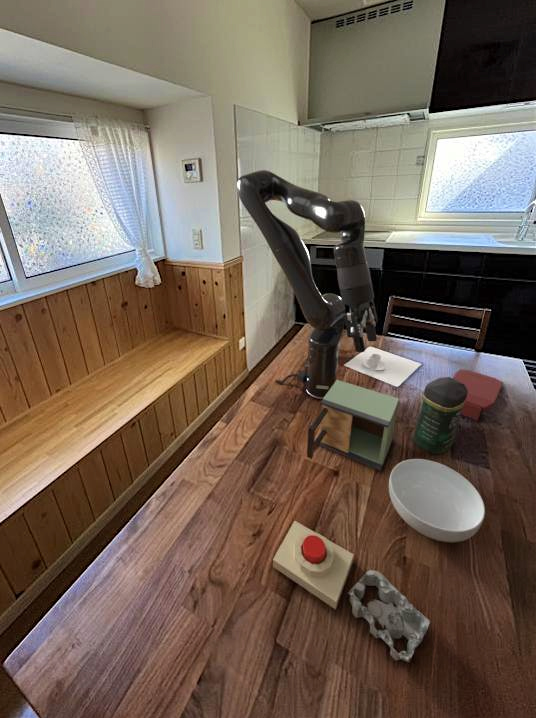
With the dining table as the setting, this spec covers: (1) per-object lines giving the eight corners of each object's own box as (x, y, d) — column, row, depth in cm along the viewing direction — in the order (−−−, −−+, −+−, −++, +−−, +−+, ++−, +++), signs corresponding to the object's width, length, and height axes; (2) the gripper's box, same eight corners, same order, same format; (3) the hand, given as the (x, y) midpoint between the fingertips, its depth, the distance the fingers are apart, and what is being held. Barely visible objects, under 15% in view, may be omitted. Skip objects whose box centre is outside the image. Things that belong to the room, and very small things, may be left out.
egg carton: (342, 604, 57) (344, 589, 55) (370, 575, 60) (372, 561, 59) (402, 674, 49) (406, 659, 47) (429, 635, 52) (434, 621, 51)
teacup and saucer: (370, 356, 129) (371, 347, 127) (391, 364, 124) (392, 354, 122) (359, 365, 124) (360, 356, 122) (379, 373, 118) (381, 364, 117)
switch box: (272, 566, 62) (272, 553, 61) (294, 527, 69) (294, 514, 68) (335, 609, 56) (337, 595, 54) (352, 561, 63) (354, 548, 61)
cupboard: (317, 444, 89) (320, 402, 84) (333, 419, 98) (336, 379, 92) (380, 471, 81) (388, 425, 75) (391, 441, 89) (399, 398, 84)
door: (304, 465, 82) (306, 427, 77) (320, 439, 90) (323, 403, 85) (334, 479, 78) (338, 439, 73) (348, 451, 86) (353, 413, 81)
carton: (457, 380, 118) (437, 405, 101) (461, 367, 117) (441, 391, 100) (499, 394, 111) (485, 423, 93) (503, 380, 109) (490, 408, 92)
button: (298, 555, 61) (299, 549, 60) (308, 537, 64) (308, 530, 63) (319, 568, 59) (320, 562, 58) (328, 549, 61) (329, 542, 61)
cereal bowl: (441, 573, 60) (449, 548, 57) (368, 501, 74) (372, 478, 71) (495, 528, 67) (504, 504, 64) (419, 469, 81) (424, 447, 78)
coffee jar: (437, 460, 83) (453, 399, 75) (407, 441, 89) (419, 382, 82) (458, 444, 87) (475, 384, 80) (429, 426, 94) (442, 370, 86)
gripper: (351, 281, 90) (362, 338, 92) (328, 291, 80) (341, 355, 82) (380, 276, 85) (390, 337, 87) (359, 286, 75) (372, 355, 77)
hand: (366, 346), depth 85 cm, fingers open, 8 cm apart
